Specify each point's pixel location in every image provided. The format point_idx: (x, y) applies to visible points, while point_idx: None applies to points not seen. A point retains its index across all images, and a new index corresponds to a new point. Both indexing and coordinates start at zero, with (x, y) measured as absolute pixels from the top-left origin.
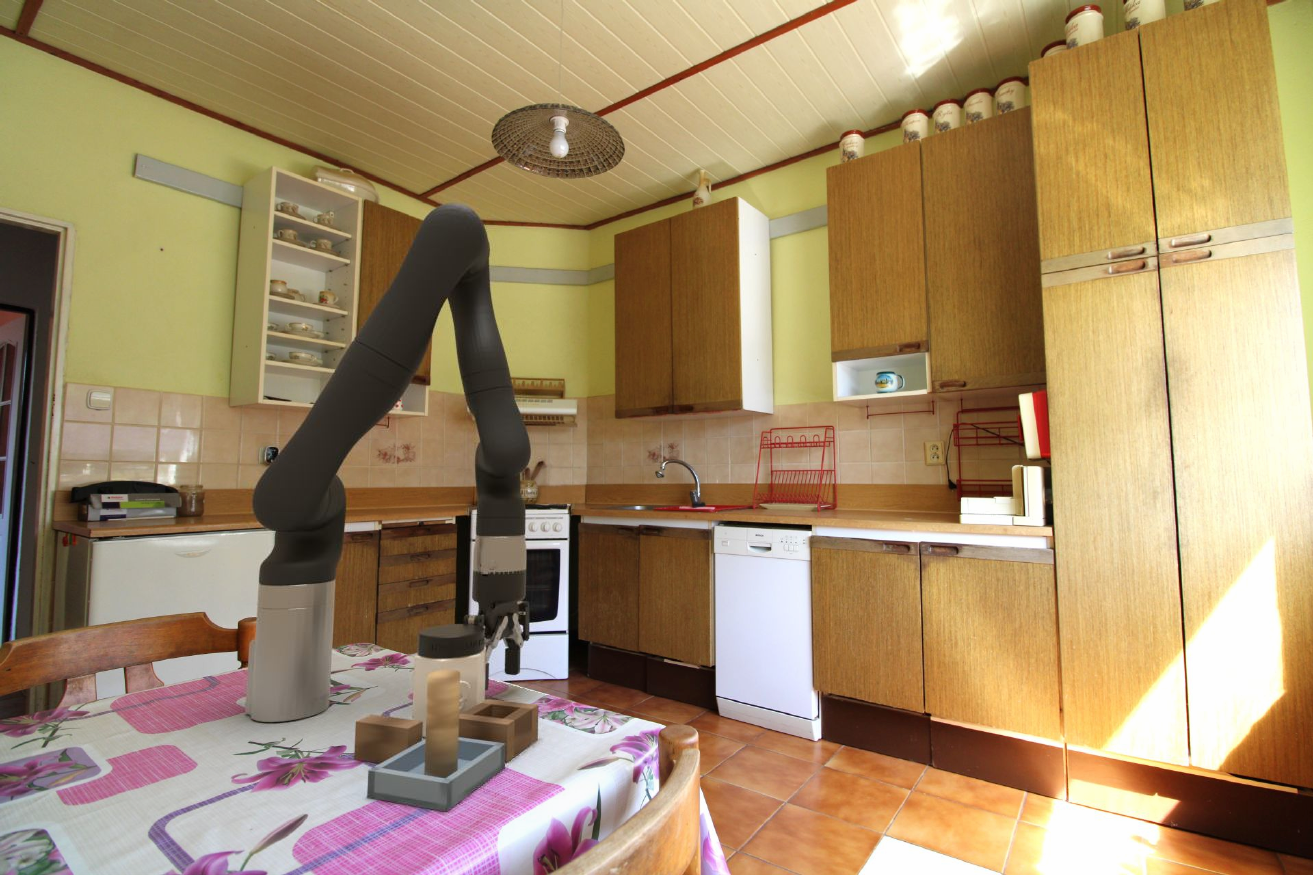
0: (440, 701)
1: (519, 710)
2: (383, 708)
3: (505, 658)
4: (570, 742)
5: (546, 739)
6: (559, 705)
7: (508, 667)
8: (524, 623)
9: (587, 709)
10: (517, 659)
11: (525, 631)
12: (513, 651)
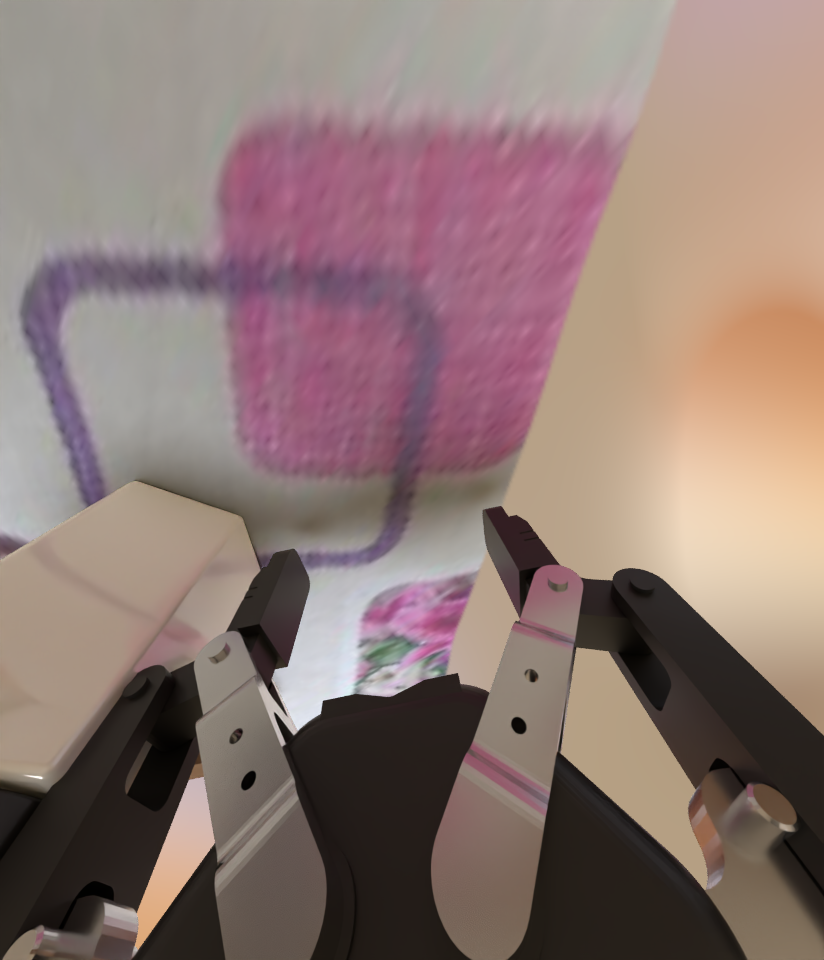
0: None
1: (199, 766)
2: (56, 211)
3: (502, 541)
4: (301, 718)
5: (285, 697)
6: (438, 627)
7: (491, 531)
8: (666, 735)
9: (442, 667)
10: (505, 583)
11: (629, 682)
12: (516, 594)
